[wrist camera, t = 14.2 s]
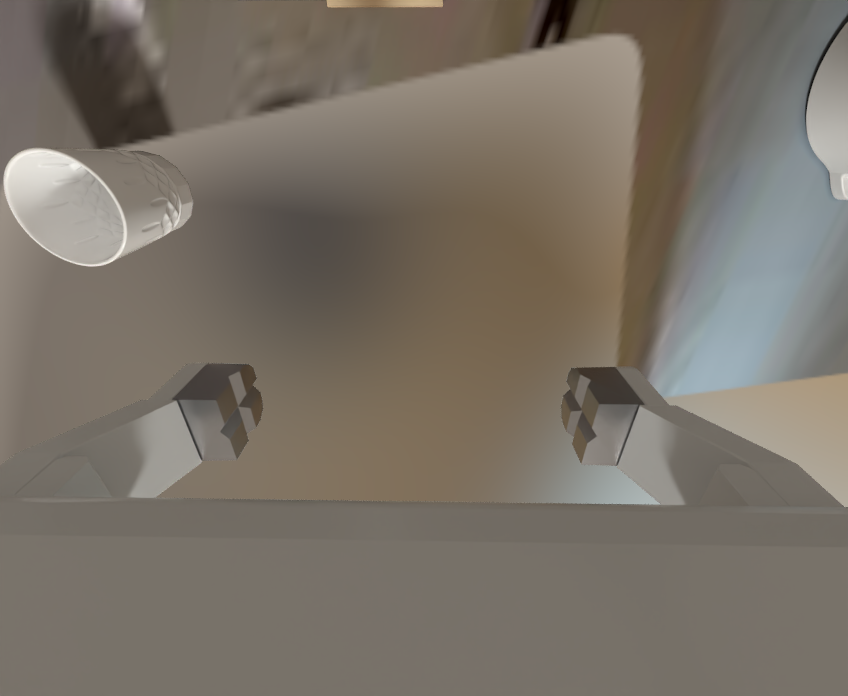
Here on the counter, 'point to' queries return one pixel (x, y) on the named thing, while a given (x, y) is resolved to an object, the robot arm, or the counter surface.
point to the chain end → (254, 0)
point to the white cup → (95, 200)
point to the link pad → (385, 3)
